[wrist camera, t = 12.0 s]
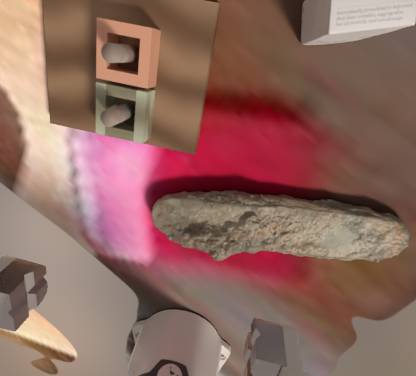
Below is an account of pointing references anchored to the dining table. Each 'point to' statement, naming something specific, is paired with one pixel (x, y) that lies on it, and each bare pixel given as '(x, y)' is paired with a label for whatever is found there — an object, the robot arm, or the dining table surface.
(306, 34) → the skincare box
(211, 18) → the wooden peg board
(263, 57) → the dining table surface
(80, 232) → the dining table surface
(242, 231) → the long grey stone
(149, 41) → the chunky salmon square frame
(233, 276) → the dining table surface
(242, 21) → the dining table surface
